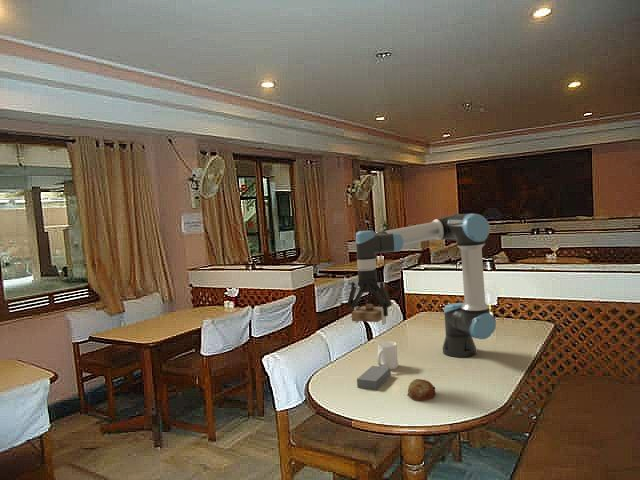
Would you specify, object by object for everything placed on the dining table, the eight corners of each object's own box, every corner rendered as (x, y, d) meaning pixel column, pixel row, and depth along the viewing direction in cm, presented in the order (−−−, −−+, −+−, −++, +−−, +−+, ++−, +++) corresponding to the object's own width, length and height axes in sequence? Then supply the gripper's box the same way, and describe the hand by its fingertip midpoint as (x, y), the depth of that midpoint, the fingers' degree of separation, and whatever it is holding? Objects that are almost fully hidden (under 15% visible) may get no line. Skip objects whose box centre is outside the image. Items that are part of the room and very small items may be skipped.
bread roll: (409, 400, 180) (399, 383, 179) (433, 387, 180) (423, 369, 180) (417, 411, 170) (407, 393, 169) (441, 397, 171) (431, 378, 170)
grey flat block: (390, 375, 197) (390, 367, 197) (376, 390, 183) (375, 381, 183) (372, 373, 201) (372, 365, 201) (357, 387, 187) (356, 378, 187)
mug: (386, 374, 199) (385, 350, 199) (370, 370, 205) (369, 347, 204) (401, 365, 208) (400, 342, 208) (385, 362, 214) (384, 340, 213)
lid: (387, 315, 193) (387, 302, 192) (377, 322, 183) (376, 308, 183) (363, 314, 198) (362, 301, 198) (352, 320, 189) (351, 307, 188)
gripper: (398, 268, 187) (401, 322, 188) (344, 267, 198) (348, 319, 200) (391, 270, 180) (394, 327, 182) (336, 270, 192) (340, 323, 193)
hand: (370, 323), depth 191 cm, fingers closed on lid, 11 cm apart
